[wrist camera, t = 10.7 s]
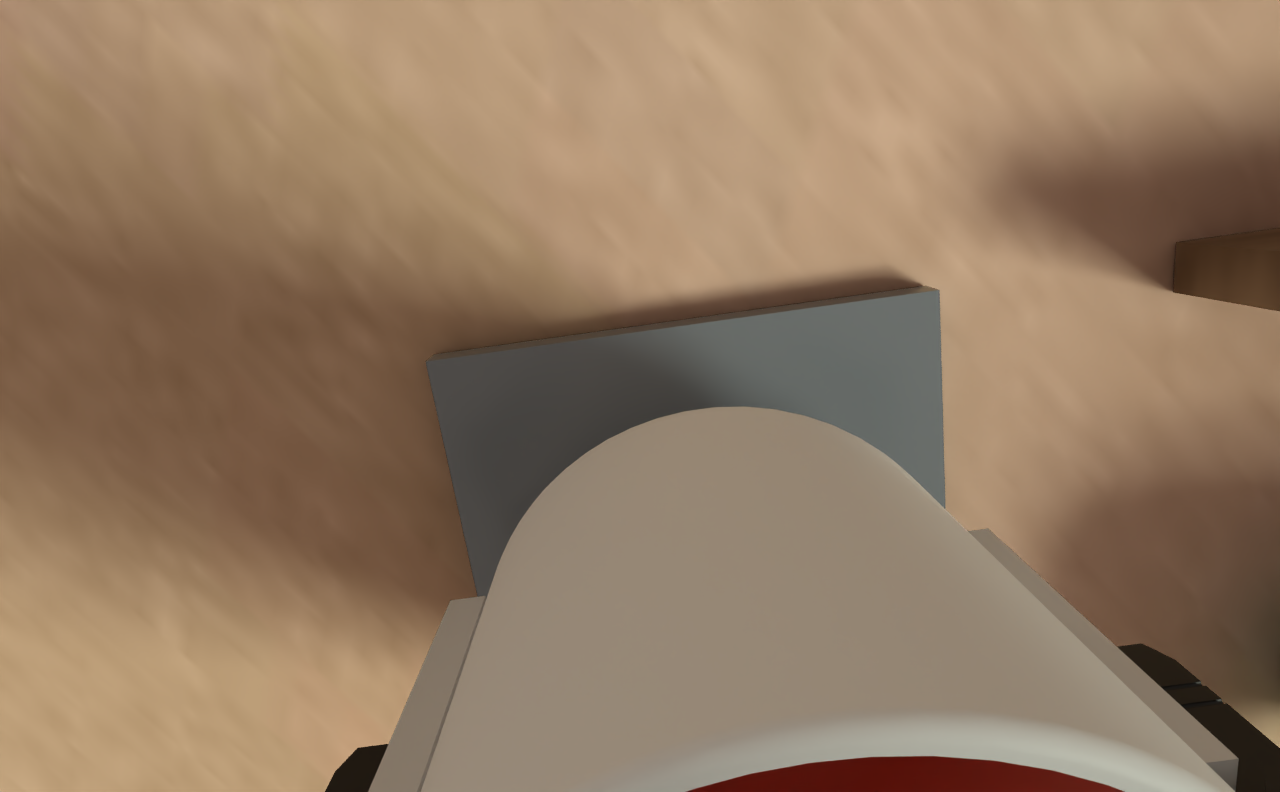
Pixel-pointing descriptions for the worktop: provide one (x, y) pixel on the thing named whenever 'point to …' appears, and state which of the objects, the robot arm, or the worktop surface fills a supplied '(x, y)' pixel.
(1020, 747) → the cup
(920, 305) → the coaster
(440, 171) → the worktop surface
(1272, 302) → the frame
